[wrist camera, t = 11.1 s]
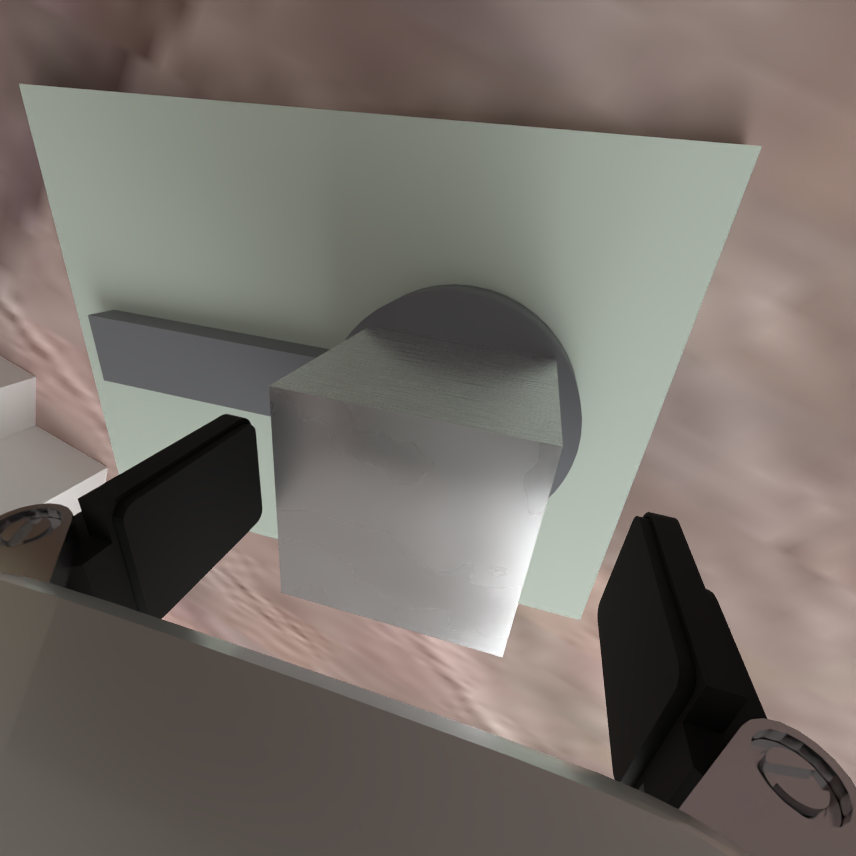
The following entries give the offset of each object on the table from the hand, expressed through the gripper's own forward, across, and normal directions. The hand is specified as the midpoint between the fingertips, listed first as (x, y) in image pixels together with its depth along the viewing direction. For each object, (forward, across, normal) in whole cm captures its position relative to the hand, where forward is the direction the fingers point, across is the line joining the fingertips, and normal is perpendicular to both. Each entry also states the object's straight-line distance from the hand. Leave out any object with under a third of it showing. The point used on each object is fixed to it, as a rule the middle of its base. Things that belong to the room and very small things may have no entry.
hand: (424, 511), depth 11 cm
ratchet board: (+8, +6, 0) cm, 10 cm away
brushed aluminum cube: (+5, 0, 0) cm, 5 cm away
